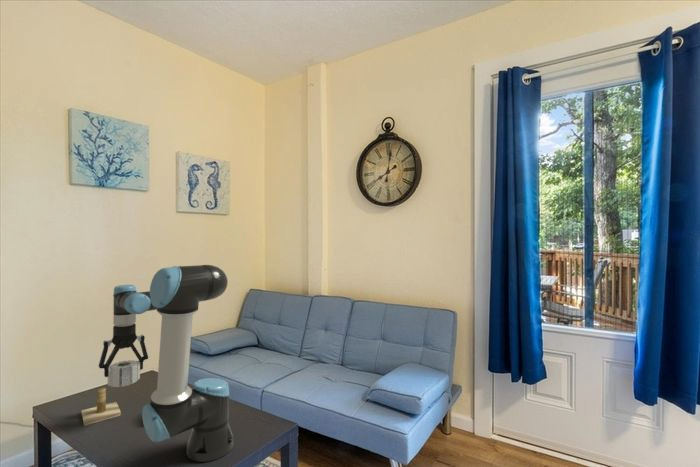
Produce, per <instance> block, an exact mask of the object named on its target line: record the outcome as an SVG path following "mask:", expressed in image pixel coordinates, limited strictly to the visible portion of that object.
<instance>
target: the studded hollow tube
mask: <svg viewBox="0 0 700 467" xmlns="http://www.w3.org/2000/svg"><path fill="white" fill-rule="evenodd" d="M137 361H138V360H133V359H129V360H123V361H118V362H115V363H113V364H112V363H111V364H110V366H109V367H111V386H110V387H112V388H121V387H126V386H130V385H132V384H134V383H137V382H138V380H139V379H138V362H137Z"/></svg>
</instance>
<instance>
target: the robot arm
mask: <svg viewBox="0 0 700 467" xmlns="http://www.w3.org/2000/svg"><path fill="white" fill-rule="evenodd" d="M152 277H153V278H151V279H152V280H151V283H150V286H149V290H148V291H141V292H137V291H138V290H137V286H136V285H135V284H122V285H116V286H115V287H114V288H113V294H112V296H113V322H112V323H113V327H112V338H111V339H109V340H104V341H103V342H102V344H103V348H102V352H101V355H100V359H99V362H98V368H99V369H104V372H103V375H104V377H105V378H107V386H108V387H112V386H111V367H110V366H111V365H112V363H113V361H114V359H115V357H116V355H117V354H118V352H119V351H120V350H122V349H123V350H124V349H128V348H130V349H131V350H132V351H133V353H134V355H135V356H136V358H137V360H136V361H137V362H138V380H141V370H143V369H144V361H146V360H148V359H149V355H148V351H147V347H146V343H145V335H143V334H141V335H137V333H136V330H137V329H136V327H137V324H136V322H137V317H136V316H137V315H141V314H142V315H143V314H144V313H146V312H152V311H156V312H157V313H158V314H159V315H161V324H160V325H161V326H160V327H161V328H160V338H159V340H160V341H159V356H158V358H159V359H158V370H157V384H156V387H157V388H156V389H155V390H154V391H153V392H152V393H151V396H150V403H146V404H145V405H144V406H143V407H142V409H141V419H142V423H143V426H144V430H145V432H146V435H147V436H148V438H149V439H150V440H151V442H154V443H159V442H163V441H165V440H170V439H171V438H172V437H174V436H177V435H180V434H181V433H184V432H187V431H189V430H191V429H192V430H191V433H190V435H189V438H188V441H187V444H186V456H187V458H188V459H190V460H191V461H194V462H199V463H200V462H201V463H202V462H203V463H205V462H211V461H215V460H218V459H220V458H222V457H224V456H226V455H227V454H228V453H230V452H231V450H232V449H233V447H234V435H233V432H232V429H231V425H230V422H229V421H230V420H229V413H230V412H229V411H230V409H229V408H230V404H229V403H230V395H231V393H230V388H229V386H230V385H229V383H228V382H227V381H226V380H224V379H223V378H222V379H221V378H215V377H210V378H209V377H208V378H202V379H198V380H196V381H195V382H193V385H192V388H191V387H190V386H189V385H188V383H189V381H188V380H189V370H190V368H189V367H190V358H191V357H190V355H191V342H192V341H191V340H192V339H191V338H192V328H193V327H192V326H193V317H194V316H193V315H194V314H195V313H196V312H198V311H199V304H200V302H205V301H210V300H214V299H217V298H218V297H221V295H223V294H224V293H225V291H226V289H227V287H228V277H227V274H226V273H225V271H224V270H222V269H221V268H220V267H218V266H215V265H212V264H202V265H201V264H199V265H179V266H178V265H177V266H176V265H173V266H169V267H163V268H160V269H159V270H157V271H156V273H155V274H154V275H153V276H152ZM136 340H137V341H138V342H139V344H140V348H141V349H140V350H141V352H142V355H143V356H141V354H140V352H139V350H138V349H137V347H136V346H135V344H134V343H135V342H136ZM111 344H112V345H114V347H113V349H112V351H111V353H110V354H109V357H108V358H107V354H108V350H109V347H111ZM106 358H107V360H106Z"/></svg>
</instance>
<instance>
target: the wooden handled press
mask: <svg viewBox="0 0 700 467" xmlns="http://www.w3.org/2000/svg"><path fill="white" fill-rule="evenodd" d="M106 400H107V388H106V387H100V388H98V389H97V390H96V406H94V407H89V408H86V409H82V410H81V413H80V414H81V417H82V423H83V426H84V427H85V426H88V425H91V424H95V423H98V422H102V421H105V420H108V419H109V420H111V419H114V418H116V417H120V416H122V412H121V409H120V406H119V405H118V403H117V401H114V402H109V403H107V401H106Z"/></svg>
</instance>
